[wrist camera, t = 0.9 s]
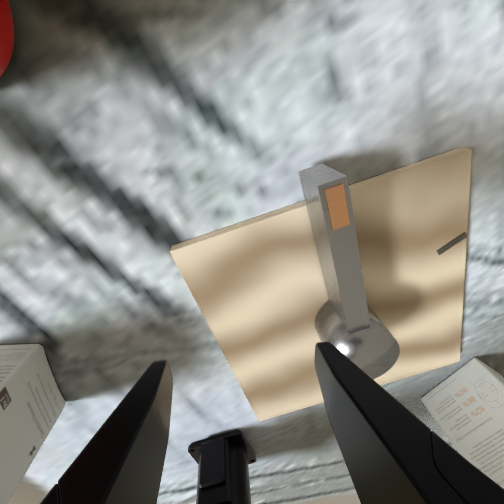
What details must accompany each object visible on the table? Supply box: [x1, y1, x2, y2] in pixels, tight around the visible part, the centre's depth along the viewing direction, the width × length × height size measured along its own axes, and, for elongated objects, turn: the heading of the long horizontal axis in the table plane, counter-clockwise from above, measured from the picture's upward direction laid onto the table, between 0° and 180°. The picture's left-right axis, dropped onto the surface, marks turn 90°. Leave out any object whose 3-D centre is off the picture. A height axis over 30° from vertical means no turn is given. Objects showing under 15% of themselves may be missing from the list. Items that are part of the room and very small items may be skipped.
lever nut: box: [299, 164, 400, 380], centre depth 20 cm, size 18×5×4 cm, turn 18°
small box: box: [421, 358, 504, 489], centre depth 28 cm, size 8×6×10 cm
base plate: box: [170, 147, 472, 422], centre depth 25 cm, size 22×22×1 cm
